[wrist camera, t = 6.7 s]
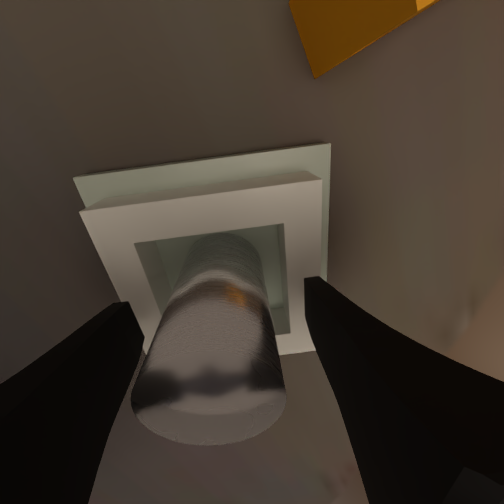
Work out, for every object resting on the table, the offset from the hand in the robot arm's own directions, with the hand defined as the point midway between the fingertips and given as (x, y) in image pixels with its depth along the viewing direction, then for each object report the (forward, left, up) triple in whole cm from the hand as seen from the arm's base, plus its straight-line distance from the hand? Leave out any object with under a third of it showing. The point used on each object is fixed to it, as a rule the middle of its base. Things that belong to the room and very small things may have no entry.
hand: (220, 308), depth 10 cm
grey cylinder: (0, 0, -3) cm, 3 cm away
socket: (0, 0, -4) cm, 4 cm away
